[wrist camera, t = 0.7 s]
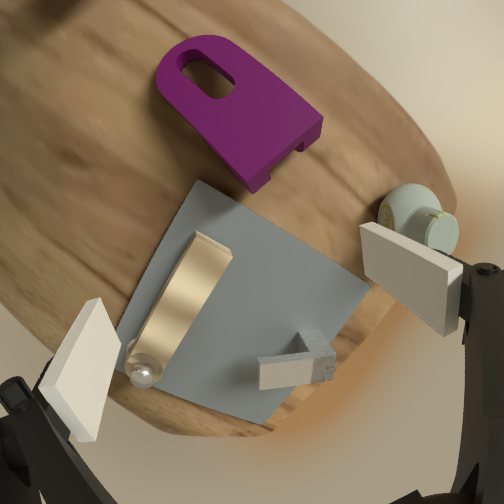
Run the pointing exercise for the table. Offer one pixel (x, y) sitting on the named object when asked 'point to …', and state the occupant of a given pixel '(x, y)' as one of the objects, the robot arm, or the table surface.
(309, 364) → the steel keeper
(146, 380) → the cylinder
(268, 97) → the mounting bracket
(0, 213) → the table surface
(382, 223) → the air freshener
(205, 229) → the slate board
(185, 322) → the brass bar
